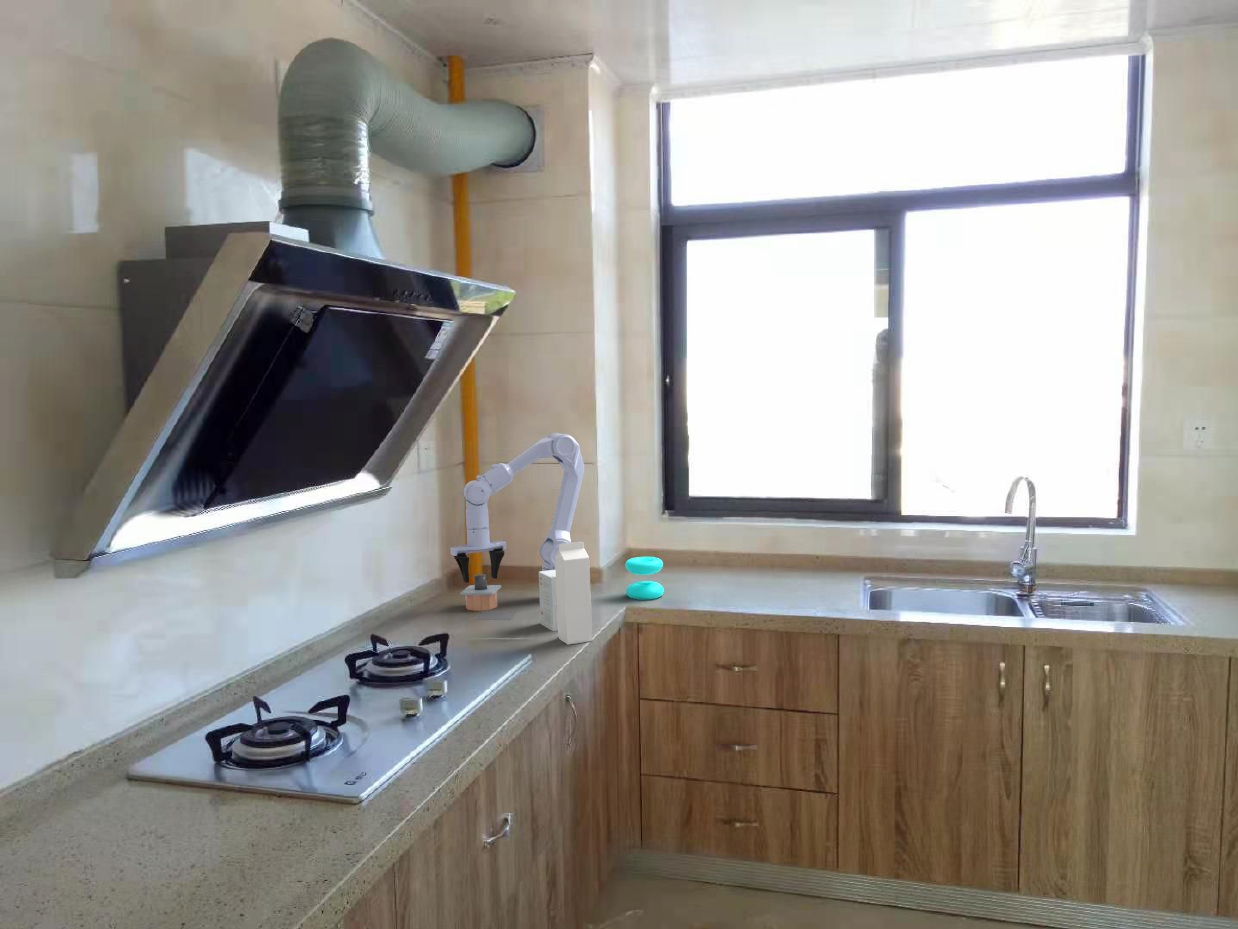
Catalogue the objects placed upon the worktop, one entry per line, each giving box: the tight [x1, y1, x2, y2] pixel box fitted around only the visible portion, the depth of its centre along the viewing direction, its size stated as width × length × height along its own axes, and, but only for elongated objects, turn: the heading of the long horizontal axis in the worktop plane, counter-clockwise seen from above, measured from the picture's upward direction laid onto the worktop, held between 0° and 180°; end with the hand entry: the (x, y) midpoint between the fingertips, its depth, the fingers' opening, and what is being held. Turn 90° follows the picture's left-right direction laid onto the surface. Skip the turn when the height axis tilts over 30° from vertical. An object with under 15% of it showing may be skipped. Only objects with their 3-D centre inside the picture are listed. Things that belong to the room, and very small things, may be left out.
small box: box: [538, 570, 558, 632], centre depth 223 cm, size 8×6×13 cm
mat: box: [474, 610, 520, 621], centre depth 235 cm, size 9×9×1 cm
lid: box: [459, 573, 502, 596], centre depth 244 cm, size 8×8×4 cm
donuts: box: [624, 556, 665, 601], centre depth 251 cm, size 10×10×10 cm
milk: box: [555, 541, 593, 645], centre depth 211 cm, size 6×6×22 cm
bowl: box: [464, 591, 498, 612], centre depth 245 cm, size 8×8×4 cm
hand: (480, 580), depth 244 cm, fingers open, 7 cm apart
